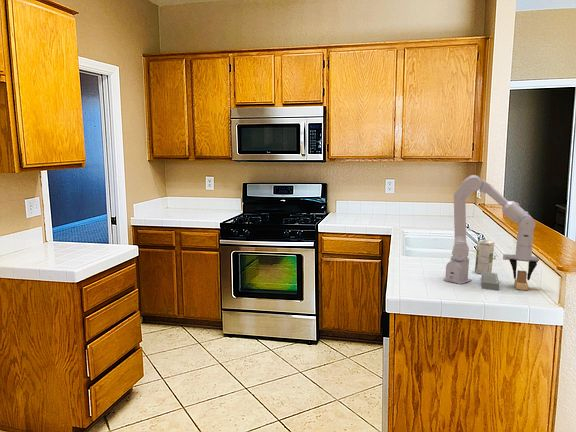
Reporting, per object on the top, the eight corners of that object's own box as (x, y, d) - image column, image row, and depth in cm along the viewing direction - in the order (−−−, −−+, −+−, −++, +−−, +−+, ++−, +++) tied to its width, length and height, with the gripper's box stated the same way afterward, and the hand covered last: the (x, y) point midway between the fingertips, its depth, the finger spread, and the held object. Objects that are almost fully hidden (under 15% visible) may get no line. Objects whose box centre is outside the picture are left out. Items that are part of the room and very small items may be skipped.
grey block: (481, 288, 185) (482, 282, 184) (481, 277, 201) (481, 271, 201) (498, 290, 182) (499, 283, 182) (496, 279, 199) (497, 273, 199)
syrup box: (478, 270, 214) (480, 239, 212) (492, 273, 210) (494, 241, 208) (474, 273, 209) (476, 241, 207) (488, 275, 206) (490, 242, 204)
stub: (516, 289, 184) (517, 274, 183) (514, 282, 193) (515, 268, 192) (527, 290, 182) (529, 275, 181) (525, 283, 191) (526, 269, 191)
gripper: (504, 245, 184) (502, 279, 186) (546, 248, 179) (543, 283, 181) (503, 242, 191) (501, 275, 193) (544, 245, 186) (540, 279, 187)
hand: (521, 278), depth 187 cm, fingers open, 4 cm apart
